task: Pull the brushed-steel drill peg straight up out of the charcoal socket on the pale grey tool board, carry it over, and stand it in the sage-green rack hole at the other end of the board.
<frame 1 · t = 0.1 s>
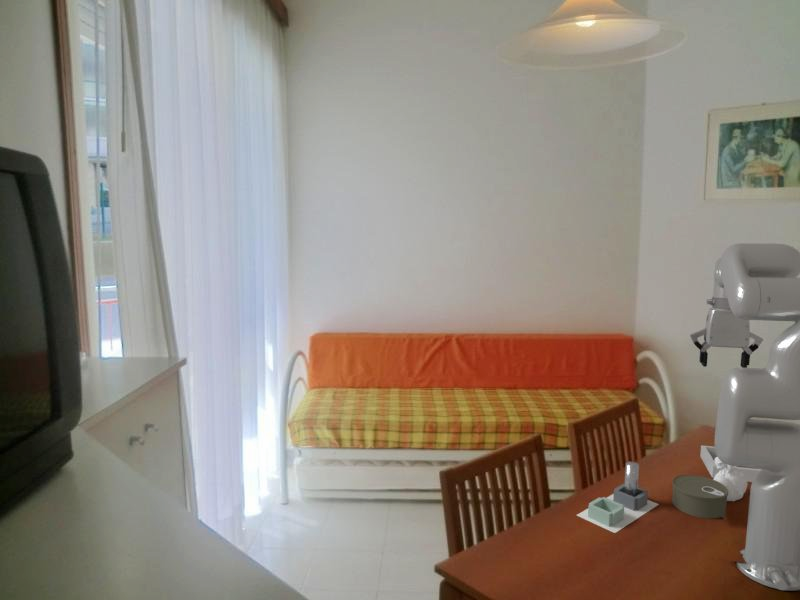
hand: (723, 366, 153), 31 cm above the table, tool pointing down, fingers open, 9 cm apart
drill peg: (630, 502, 141), point 1 cm above the table, touching tool board
tool board: (618, 515, 137), on the table
controller tray: (734, 469, 161), on the table
game controller: (732, 471, 162), on the table
can: (698, 512, 139), on the table
bust: (726, 496, 147), on the table
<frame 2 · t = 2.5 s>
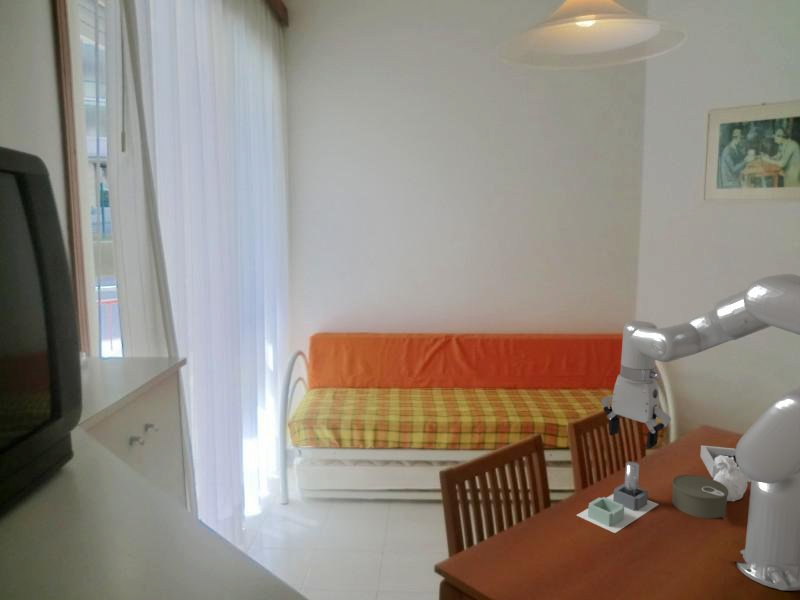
hand: (631, 440, 139), 18 cm above the table, tool pointing down, fingers open, 9 cm apart
game controller: (727, 469, 163), on the table
everything else where it was.
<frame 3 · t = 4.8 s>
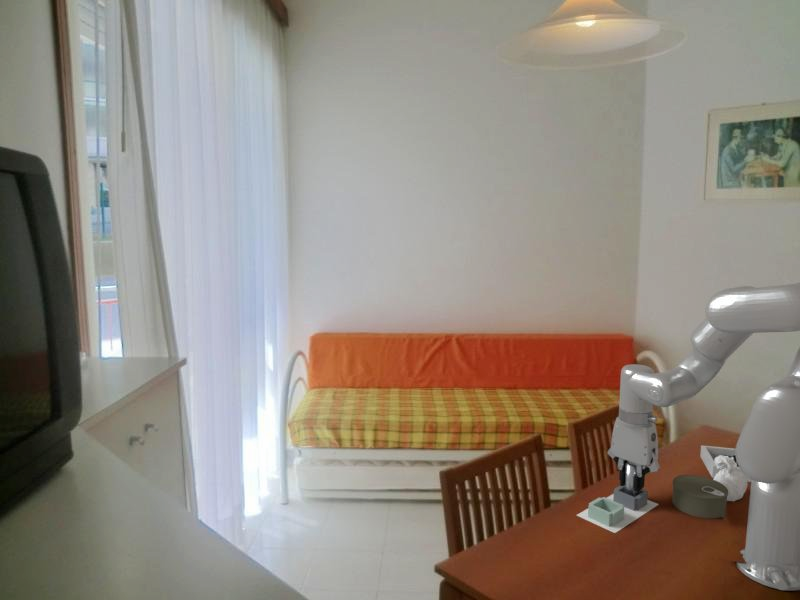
hand: (631, 486, 140), 6 cm above the table, tool pointing down, fingers closed on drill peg, 3 cm apart
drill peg: (630, 502, 141), point 2 cm above the table, touching gripper, tool board
everything else where it was.
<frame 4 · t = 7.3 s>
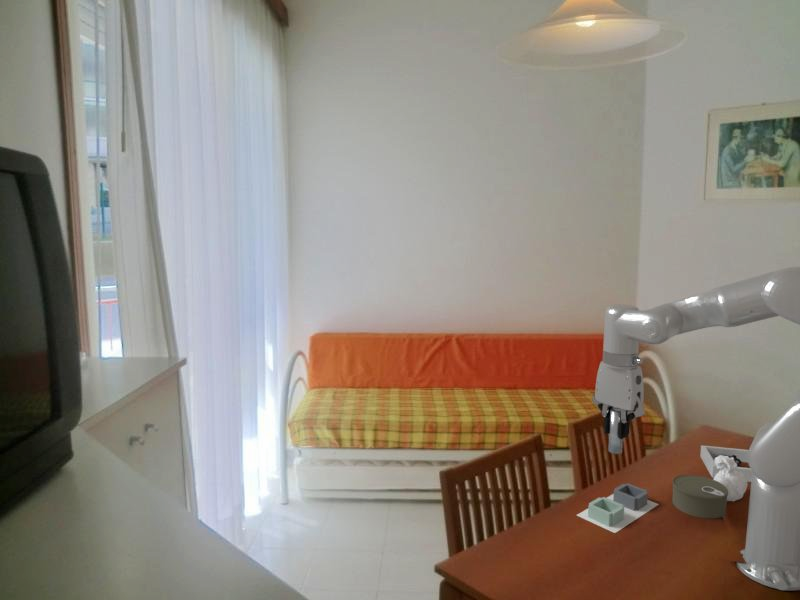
hand: (616, 434, 133), 21 cm above the table, tool pointing down, fingers closed on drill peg, 3 cm apart
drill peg: (615, 451, 133), point 17 cm above the table, touching gripper
everything else where it was.
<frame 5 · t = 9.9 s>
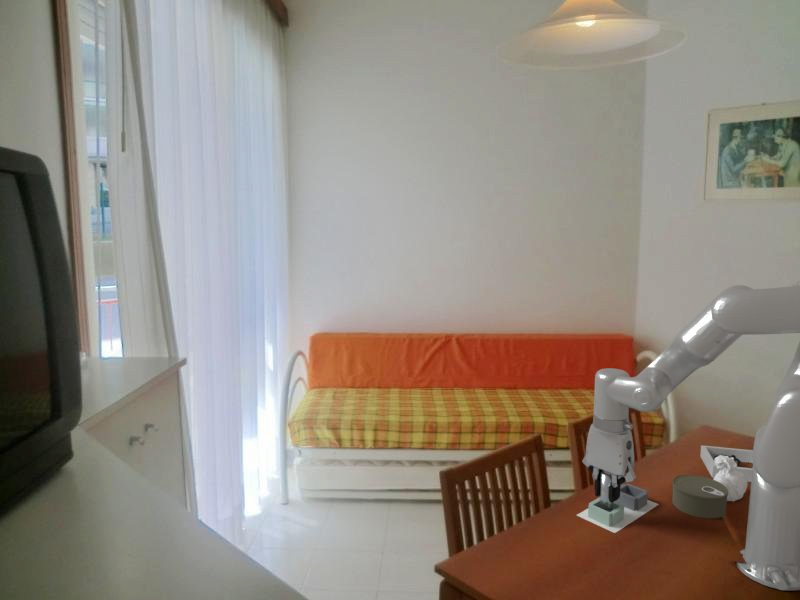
hand: (606, 496, 133), 7 cm above the table, tool pointing down, fingers closed on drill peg, 3 cm apart
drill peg: (605, 513, 134), point 2 cm above the table, touching gripper
everything else where it was.
when the fingers open (7 cm above the table, at t = 10.2 s): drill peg stays where it is, resting on tool board.
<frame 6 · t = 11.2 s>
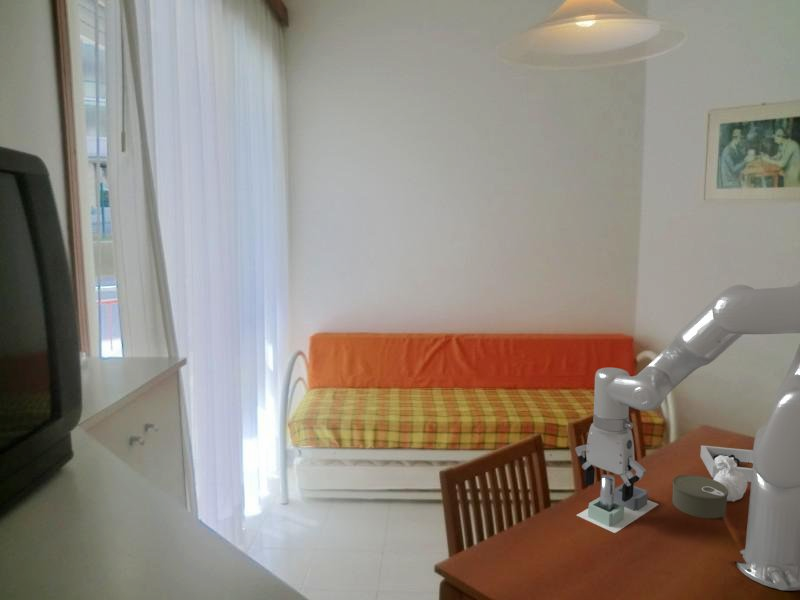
hand: (607, 491, 133), 8 cm above the table, tool pointing down, fingers open, 9 cm apart
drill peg: (606, 517, 134), point 2 cm above the table, touching tool board
everything else where it was.
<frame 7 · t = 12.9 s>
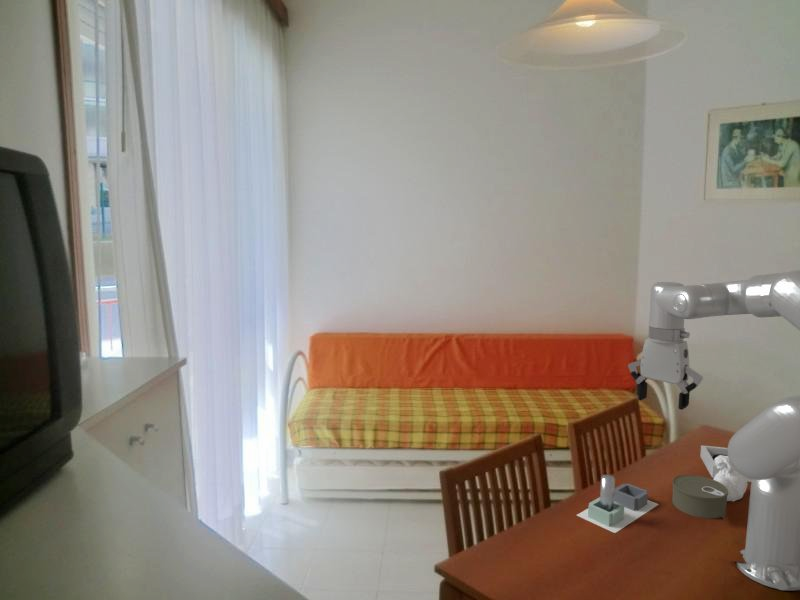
hand: (662, 403, 137), 27 cm above the table, tool pointing down, fingers open, 9 cm apart
nothing on the table moved.
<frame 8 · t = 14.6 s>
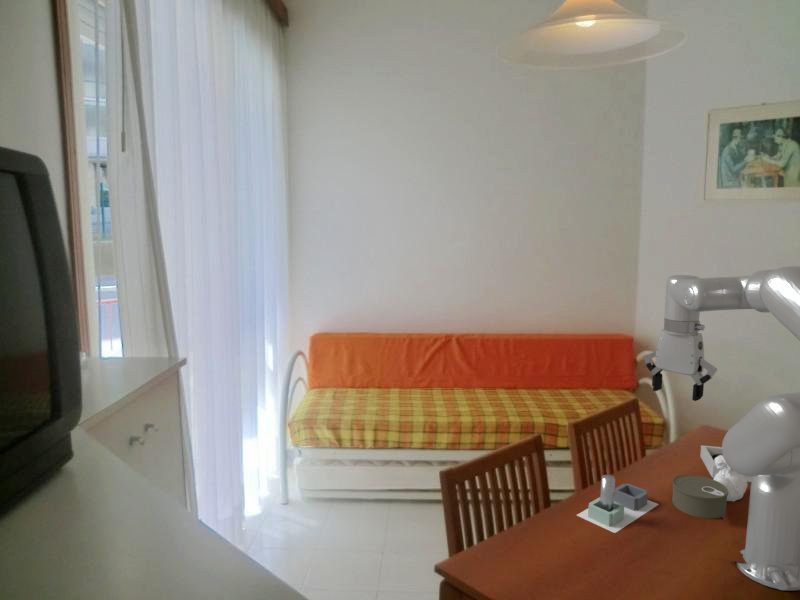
hand: (676, 394, 139), 28 cm above the table, tool pointing down, fingers open, 9 cm apart
nothing on the table moved.
at the end: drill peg 0.1 cm from the target spot on the tool board, point 1.5 cm above the tool board's base; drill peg tilted 1°; the gripper is holding nothing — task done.
